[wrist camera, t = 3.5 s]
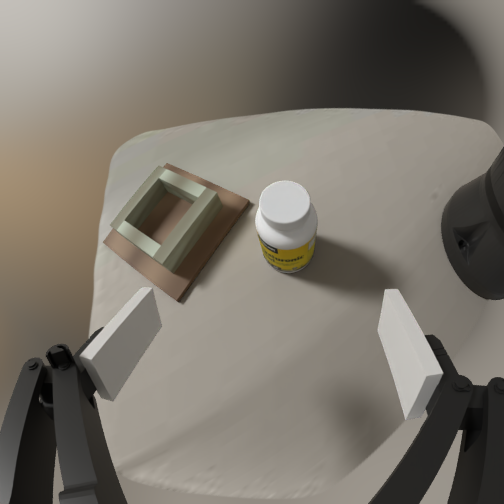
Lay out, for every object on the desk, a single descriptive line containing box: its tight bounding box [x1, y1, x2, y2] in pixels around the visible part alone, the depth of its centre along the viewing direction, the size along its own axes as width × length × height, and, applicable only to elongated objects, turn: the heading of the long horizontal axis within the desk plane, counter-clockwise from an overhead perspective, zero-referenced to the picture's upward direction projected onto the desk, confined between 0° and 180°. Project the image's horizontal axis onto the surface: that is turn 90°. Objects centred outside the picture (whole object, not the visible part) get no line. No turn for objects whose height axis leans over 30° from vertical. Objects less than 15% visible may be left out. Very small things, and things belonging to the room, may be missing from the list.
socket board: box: [103, 163, 250, 302], centre depth 33 cm, size 14×14×4 cm
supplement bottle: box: [255, 181, 318, 273], centre depth 26 cm, size 5×5×10 cm
